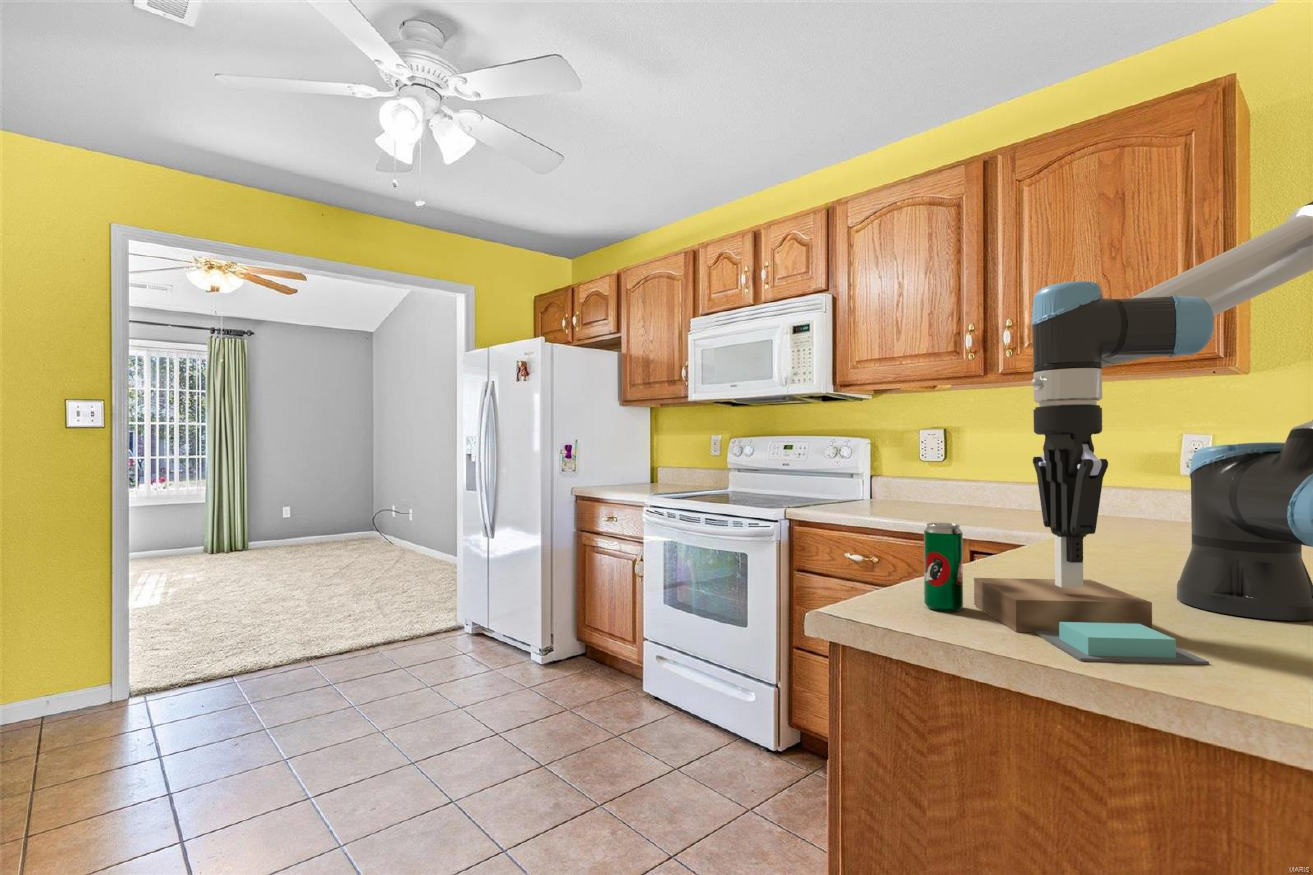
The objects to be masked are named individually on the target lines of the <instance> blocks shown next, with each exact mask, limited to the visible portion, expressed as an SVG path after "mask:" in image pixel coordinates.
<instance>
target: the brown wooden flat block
mask: <svg viewBox="0 0 1313 875" xmlns="http://www.w3.org/2000/svg"><path fill="white" fill-rule="evenodd" d="M973 600H974V601H973V605H976V606H977V607H976V606H975V607H976V608H978V609H979V608H980V609H979V610H981V609H982V610H983V611H982V610H981V611H982V612H984V611H985V612H986V615H989V616H990V615H991V616H990V617H991V618H993V619H995V618H996V619H995V620H996V621H999V622H1000V623H1001V624H1003V625H1004V626H1006V627H1007V628H1009V629H1010V630H1012V631H1013V632H1016V633H1035V631H1053V632H1059V622H1084V623H1128V624H1141V625H1144V626H1146V627H1148V628H1151V629H1153V602H1152V601H1149V600H1147V599H1143V598H1142V597H1138V596H1135V595H1133V594H1130V593H1127V592H1125V591H1122V590H1119V589H1117V588H1114V587H1111V586H1109V585H1106V584H1104V583H1101V582H1097V581H1095V580H1092V579H1083V588H1077V587H1059V586H1057V585H1055V578H1013V577H1012V578H1011V577H1009V578H1008V577H1006V578H1005V577H1004V578H1003V577H973ZM985 612H984V613H985Z"/></svg>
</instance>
